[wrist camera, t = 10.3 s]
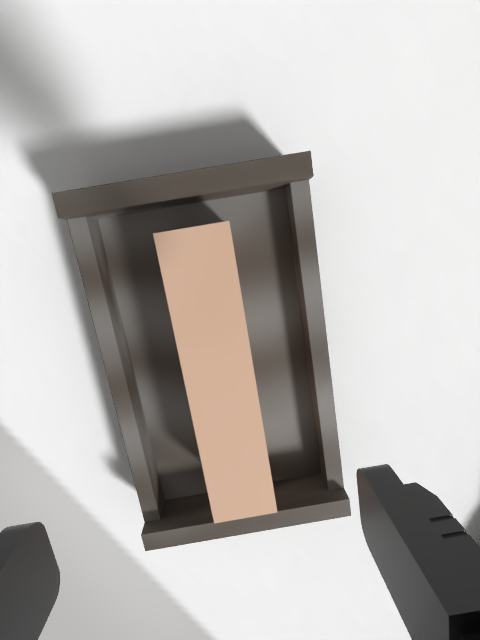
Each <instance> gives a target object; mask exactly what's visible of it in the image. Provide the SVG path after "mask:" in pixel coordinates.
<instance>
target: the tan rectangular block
mask: <svg viewBox="0 0 480 640" xmlns="http://www.w3.org/2000/svg"><path fill="white" fill-rule="evenodd" d="M153 236H154V241H155V245H156V250H157V255H158V260H159V264H160V269H161V274H162V279H163V283H164V288H165V293H166V297H167V302H168V307H169V312H170V316H171V321H172V326H173V331H174V335H175V340H176V345H177V350H178V354H179V359H180V364H181V368H182V373H183V378H184V383H185V387H186V392H187V397H188V402H189V406H190V411H191V416H192V421H193V425H194V430H195V435H196V440H197V444H198V449H199V454H200V458H201V463H202V468H203V473H204V477H205V482H206V487H207V492H208V496H209V501H210V506H211V511H212V515H213V520H214V523H220V522H226V521H231V520H237V519H243V518H248V517H254V516H260V515H266V514H271V513H277V506H276V500H275V494H274V488H273V482H272V476H271V470H270V464H269V458H268V452H267V446H266V440H265V434H264V428H263V422H262V416H261V410H260V403H259V397H258V391H257V385H256V379H255V373H254V367H253V361H252V355H251V349H250V343H249V337H248V331H247V325H246V319H245V313H244V307H243V301H242V295H241V289H240V283H239V276H238V270H237V264H236V258H235V252H234V246H233V240H232V234H231V228H230V222H229V221H225V222H219V223H213V224H207V225H201V226H195V227H189V228H183V229H177V230H171V231H165V232H159V233H153Z"/></svg>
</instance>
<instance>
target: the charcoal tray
mask: <svg viewBox="0 0 480 640" xmlns="http://www.w3.org/2000/svg"><path fill="white" fill-rule="evenodd" d="M312 177H313V168H312V159H311V151H306V152H300V153H294V154H288V155H282V156H276V157H270V158H264V159H258V160H252V161H245V162H239V163H233V164H227V165H221V166H215V167H209V168H203V169H197V170H191V171H185V172H178V173H172V174H166V175H160V176H154V177H148V178H142V179H136V180H130V181H124V182H118V183H111V184H105V185H99V186H93V187H87V188H81V189H75V190H69V191H63V192H57V193H52V196H53V200H54V203H55V207H56V211H57V215H58V218H61V219H67V221H68V225H69V229H70V233H71V237H72V241H73V245H74V249H75V252H76V256H77V260H78V264H79V268H80V272H81V276H82V280H83V284H84V287H85V291H86V295H87V299H88V303H89V307H90V311H91V315H92V319H93V323H94V326H95V330H96V334H97V338H98V342H99V346H100V350H101V354H102V358H103V361H104V365H105V369H106V373H107V377H108V381H109V385H110V389H111V393H112V397H113V400H114V404H115V408H116V412H117V416H118V420H119V424H120V428H121V432H122V436H123V439H124V443H125V447H126V451H127V455H128V459H129V463H130V467H131V471H132V474H133V478H134V482H135V486H136V490H137V494H138V498H139V502H140V506H141V510H142V513H143V517H144V521H145V524H144V527H143V531H142V534H141V536H142V540H143V544H144V547H145V551H149V550H155V549H161V548H166V547H172V546H178V545H184V544H189V543H195V542H201V541H207V540H213V539H218V538H224V537H230V536H236V535H242V534H247V533H253V532H259V531H265V530H271V529H276V528H282V527H288V526H294V525H299V524H305V523H311V522H317V521H323V520H328V519H334V518H340V517H346V516H351V510H350V501H349V498H348V496H347V494H346V491H345V489H344V485H343V476H342V467H341V458H340V450H339V441H338V432H337V423H336V414H335V406H334V397H333V388H332V379H331V371H330V362H329V353H328V344H327V335H326V327H325V318H324V309H323V300H322V291H321V283H320V274H319V265H318V256H317V248H316V239H315V230H314V221H313V212H312V204H311V195H310V186H309V179H310V178H312ZM225 221H229V222H230V228H231V234H232V240H233V246H234V252H235V258H236V264H237V270H238V276H239V283H240V289H241V295H242V301H243V307H244V313H245V319H246V325H247V331H248V337H249V343H250V349H251V355H252V361H253V367H254V373H255V379H256V385H257V391H258V397H259V403H260V410H261V416H262V422H263V428H264V434H265V440H266V446H267V452H268V458H269V464H270V470H271V476H272V482H273V488H274V494H275V500H276V506H277V513H271V514H266V515H260V516H254V517H248V518H243V519H237V520H231V521H226V522H220V523H214V520H213V515H212V511H211V506H210V501H209V496H208V492H207V487H206V482H205V477H204V473H203V468H202V463H201V458H200V454H199V449H198V444H197V440H196V435H195V430H194V425H193V421H192V416H191V411H190V406H189V402H188V397H187V392H186V387H185V383H184V378H183V373H182V368H181V364H180V359H179V354H178V350H177V345H176V340H175V335H174V331H173V326H172V321H171V316H170V312H169V307H168V302H167V297H166V293H165V288H164V283H163V279H162V274H161V269H160V264H159V260H158V255H157V250H156V245H155V241H154V236H153V233H159V232H165V231H171V230H177V229H183V228H189V227H195V226H201V225H207V224H213V223H219V222H225Z"/></svg>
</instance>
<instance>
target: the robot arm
mask: <svg viewBox="0 0 480 640" xmlns="http://www.w3.org/2000/svg"><path fill="white" fill-rule="evenodd" d="M357 485H358V495H359V506H360V517H361V524H362V529H363V533H364V536H365V539H366V542H367V545H368V547H369V550H370V552H371V554H372V556H373V558H374V560H375V562H376V564H377V567H378V569H379V571H380V573H381V575H382V577H383V579H384V581H385V583H386V586H387V588H388V590H389V592H390V594H391V596H392V598H393V600H394V602H395V605H396V607H397V609H398V611H399V613H400V615H401V617H402V619H403V622H404V624H405V626H406V628H407V630H408V632H409V634H410V636H411V638H412V640H480V547H479V546H478V545H477V544H476V542H475V541H474V540H473V539H472V538H471V536H470V535H467V533H466V530H465V529H464V528H463V527H462V526H461V524H460V523H459V522H458V521H457V520H456V518H453V516H452V514H451V512H450V511H449V510H448V509H447V508H446V506H445V505H444V504H443V503H442V502H441V500H440V499H439V498H438V497H437V496H436V495H434V494H433V493H431V492H430V491H428V490H427V489H425V488H424V487H422V486H420V485H419V484H417V483H410V484H403V483H402V482H401V480H400V479H399V478H398V476H397V475H396V474H395V472H394V471H393V469H392V468H391V467H390V466H389V465H387V464H384V465H378V466H373V467H367V468H361V469H358V470H357ZM59 586H60V572H59V568H58V565H57V562H56V559H55V556H54V553H53V550H52V547H51V544H50V541H49V538H48V535H47V532H46V529H45V527H44V525H43V524H42V523H40V522H35V523H28V524H22V525H16V526H10V527H7V528H5V529H4V530H2V531H1V533H0V640H38V638H39V636H40V634H41V632H42V629H43V627H44V625H45V623H46V621H47V619H48V616H49V614H50V612H51V610H52V608H53V605H54V604H55V601H56V599H57V595H58V592H59Z"/></svg>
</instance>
